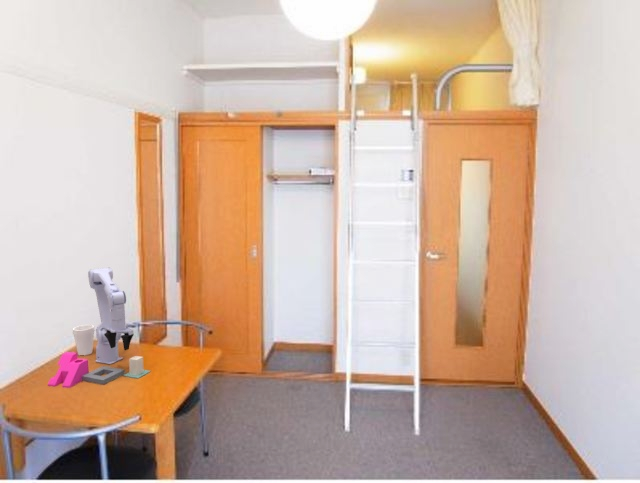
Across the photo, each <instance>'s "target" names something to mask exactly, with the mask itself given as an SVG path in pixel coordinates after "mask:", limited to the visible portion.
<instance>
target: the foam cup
mask: <svg viewBox="0 0 640 483" xmlns="http://www.w3.org/2000/svg"><path fill="white" fill-rule="evenodd" d="M94 334H95V326H94V325H93V324H82V325H81V324H80V325H77V326H75V327H73V328H72V335H73V337H74V342H75V346H76V351H77V352H76V353H77V356H80V355H84V356H88V355H91V354H93V350H94V338H95V335H94Z"/></svg>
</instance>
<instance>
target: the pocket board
mask: <svg viewBox="0 0 640 483" xmlns="http://www.w3.org/2000/svg"><path fill="white" fill-rule="evenodd" d="M125 372H126V371H125V369H123V368H117V367H112V366H108V365H107V366H106V365H103V366H99V367H98V368H96V369H94V370H91V371H89V373H87V374H85V375H83V376H82V381H83V382H87V383H93V384H97V385H106V384H108V383H110V382H112V381H113V380H116V379H117V378H118V379H119V378H120V377H122V376H123V375H124V374H126V373H125ZM82 381H81V382H82Z"/></svg>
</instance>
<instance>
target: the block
mask: <svg viewBox="0 0 640 483" xmlns="http://www.w3.org/2000/svg"><path fill="white" fill-rule="evenodd" d="M128 363H129V366H128V368H129V372H130V374H131V375H137V376H138V375H139V374H141V373H143V372H144V370H145V369H144V357H143V356H138V355H134V356H132V357H130V358H129V359H128Z"/></svg>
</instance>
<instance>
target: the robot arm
mask: <svg viewBox="0 0 640 483" xmlns="http://www.w3.org/2000/svg"><path fill="white" fill-rule="evenodd" d="M87 274H88V275H87V276H88V277H87V278H88V282H89V287H90V289H92V290H94V292H95V296H96V301H97V305H98V306H97V307H98V311H99V317H100V323H99V324H98V326H97V327H96V329H95V331H96V339H97V344H96V347H95V354H96V356H95V357H96V360H94V362H96V363H100V364H101V363H102V364H107V365H112V364H115V363H116V362H119V361H120V360H121V361H122V360H123V359H124V357H122V356H119V342H120V340H122V344H123V346H122V347H123V350H124V351H128V350H129V349H130V345H131V341H132V339H133V337H134V329H131V328H129V327H126V325H127V324H126V310H125V308H126V306H125V305H126V303H127V296H126V292H125V291H124V290H122V289H120V287H119V285H118V284H117V283H116V282H113V278H114V273H113V269H112V268H111V267H104V268H103V267H102V268H96V269H95V268H94V269H89V270H88V273H87Z"/></svg>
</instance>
